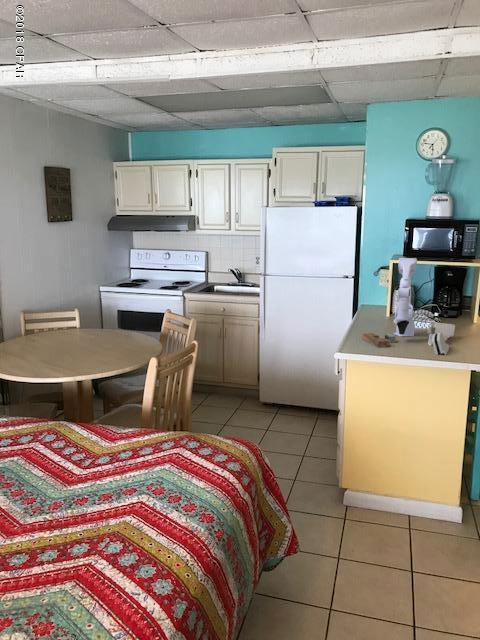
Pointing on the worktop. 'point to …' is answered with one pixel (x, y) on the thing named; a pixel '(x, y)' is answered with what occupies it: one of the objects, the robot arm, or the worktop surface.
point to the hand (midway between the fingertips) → (401, 334)
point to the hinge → (439, 344)
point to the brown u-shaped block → (376, 340)
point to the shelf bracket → (440, 330)
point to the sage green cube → (390, 337)
